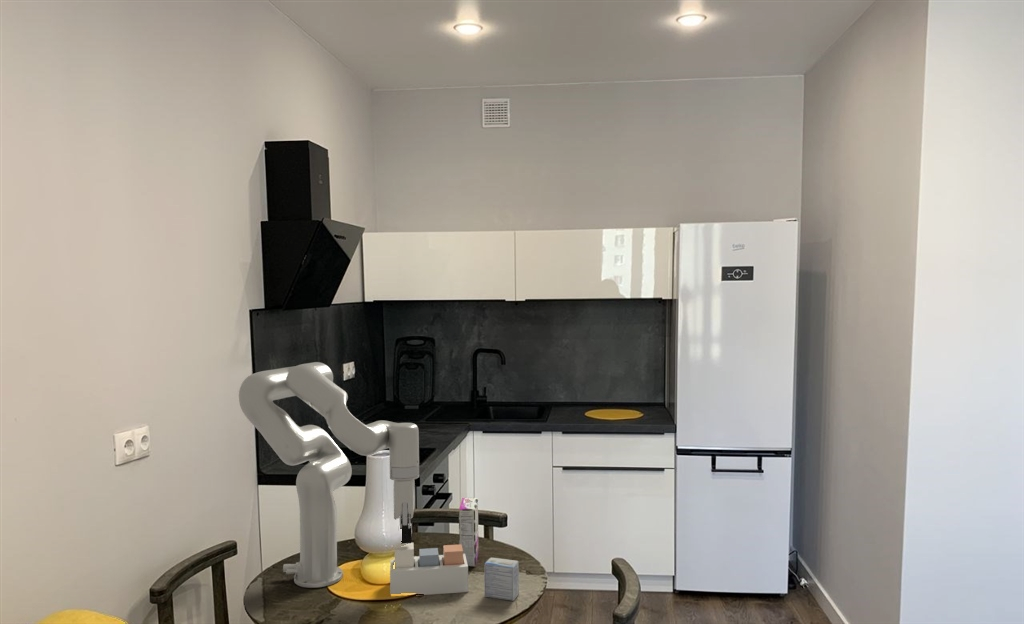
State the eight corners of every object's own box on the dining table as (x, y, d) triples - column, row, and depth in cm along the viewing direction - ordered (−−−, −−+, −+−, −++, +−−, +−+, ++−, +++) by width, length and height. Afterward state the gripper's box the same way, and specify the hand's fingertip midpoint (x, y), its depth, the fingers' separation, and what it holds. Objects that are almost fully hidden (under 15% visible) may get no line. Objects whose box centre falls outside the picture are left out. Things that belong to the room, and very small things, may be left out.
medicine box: (519, 594, 168) (519, 560, 168) (513, 601, 164) (513, 567, 164) (490, 590, 170) (490, 556, 170) (483, 597, 166) (483, 563, 166)
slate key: (419, 580, 169) (419, 555, 169) (419, 572, 174) (419, 549, 174) (438, 578, 170) (438, 554, 170) (437, 571, 175) (437, 547, 175)
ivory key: (394, 574, 168) (394, 550, 168) (395, 567, 173) (395, 543, 173) (413, 573, 169) (413, 549, 169) (413, 566, 174) (413, 542, 174)
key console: (390, 597, 166) (390, 571, 166) (391, 582, 175) (390, 557, 175) (468, 591, 169) (468, 566, 169) (465, 577, 178) (464, 553, 178)
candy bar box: (462, 552, 196) (462, 497, 196) (478, 552, 196) (478, 497, 196) (458, 567, 185) (458, 508, 185) (476, 567, 185) (476, 508, 185)
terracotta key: (444, 576, 170) (444, 552, 170) (443, 568, 175) (443, 545, 175) (463, 574, 171) (463, 550, 171) (461, 567, 176) (461, 544, 176)
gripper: (390, 465, 178) (391, 533, 178) (388, 479, 163) (389, 554, 163) (418, 464, 179) (419, 531, 179) (419, 478, 164) (420, 552, 164)
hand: (405, 542), depth 171 cm, fingers closed
